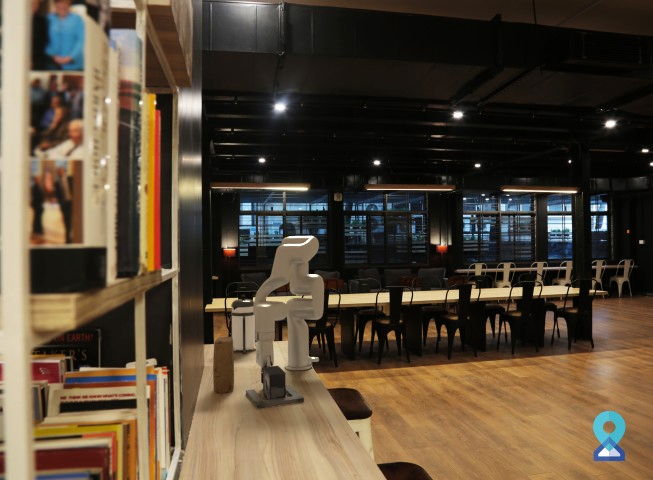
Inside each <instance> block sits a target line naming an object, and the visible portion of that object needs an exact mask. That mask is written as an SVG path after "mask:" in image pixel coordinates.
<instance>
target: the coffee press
mask: <svg viewBox="0 0 653 480" xmlns="http://www.w3.org/2000/svg"><path fill="white" fill-rule="evenodd" d="M254 301H255V300H254V299H253V300H252V299H250V298H249V299H248V298H246V295H245V294H242V295H240V298H239V299H235V300H233V301H232V303H231V305H230V308H231V315H230V316H231V322H230V323H231V337H232V338H233V349H234V350H236V351H242V354H243V355H244V354H246V353H247V351H248V350H252V349H253V350H255V351H256V348H255V347H256V337H255V332H256V331H255V316H254V313H253V306H254Z"/></svg>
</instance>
